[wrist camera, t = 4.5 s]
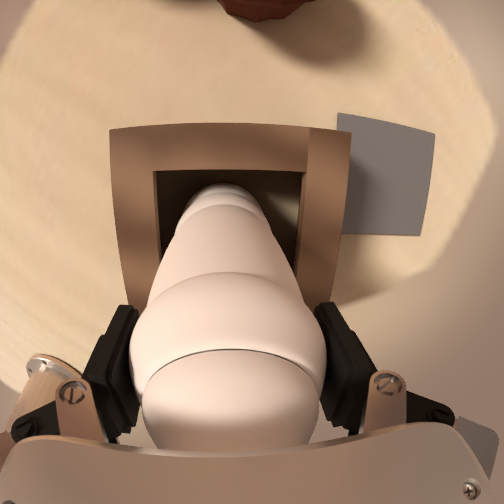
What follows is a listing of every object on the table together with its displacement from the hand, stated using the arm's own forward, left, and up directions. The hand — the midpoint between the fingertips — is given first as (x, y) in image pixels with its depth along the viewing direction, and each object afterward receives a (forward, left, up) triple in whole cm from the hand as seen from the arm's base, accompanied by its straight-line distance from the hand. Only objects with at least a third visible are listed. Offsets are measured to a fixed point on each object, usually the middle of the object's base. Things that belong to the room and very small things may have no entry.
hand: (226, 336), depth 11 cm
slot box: (0, 0, -17) cm, 17 cm away
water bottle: (0, 0, -16) cm, 16 cm away
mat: (+4, -16, -17) cm, 24 cm away
